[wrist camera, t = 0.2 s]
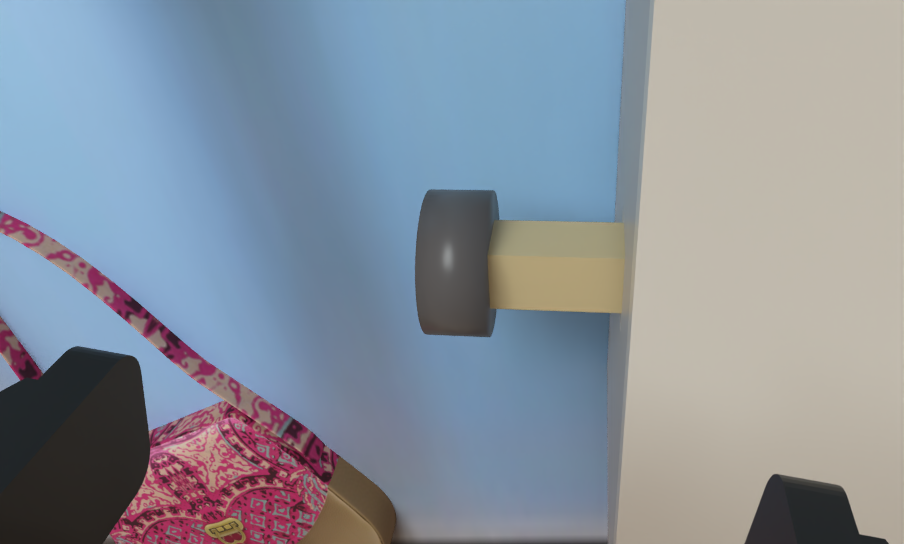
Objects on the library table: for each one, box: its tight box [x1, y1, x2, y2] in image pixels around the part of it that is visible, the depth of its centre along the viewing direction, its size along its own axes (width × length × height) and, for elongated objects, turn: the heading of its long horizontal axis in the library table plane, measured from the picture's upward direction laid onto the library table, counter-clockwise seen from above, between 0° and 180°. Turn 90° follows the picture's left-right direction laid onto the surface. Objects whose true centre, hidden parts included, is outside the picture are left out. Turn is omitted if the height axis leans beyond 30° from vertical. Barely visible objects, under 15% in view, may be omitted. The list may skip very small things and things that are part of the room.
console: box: [607, 0, 904, 544], centre depth 26 cm, size 22×10×14 cm, turn 4°
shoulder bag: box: [0, 211, 396, 544], centre depth 45 cm, size 17×3×28 cm
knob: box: [415, 189, 625, 337], centre depth 26 cm, size 5×8×5 cm, turn 94°
